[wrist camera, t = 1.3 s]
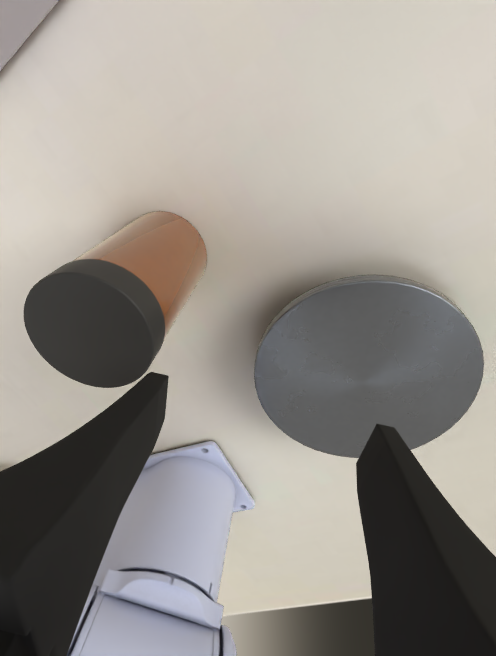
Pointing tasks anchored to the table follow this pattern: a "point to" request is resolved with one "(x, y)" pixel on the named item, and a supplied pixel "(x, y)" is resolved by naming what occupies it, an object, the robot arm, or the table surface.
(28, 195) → the table surface
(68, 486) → the robot arm
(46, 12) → the charger
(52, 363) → the spice jar
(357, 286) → the steel stand
